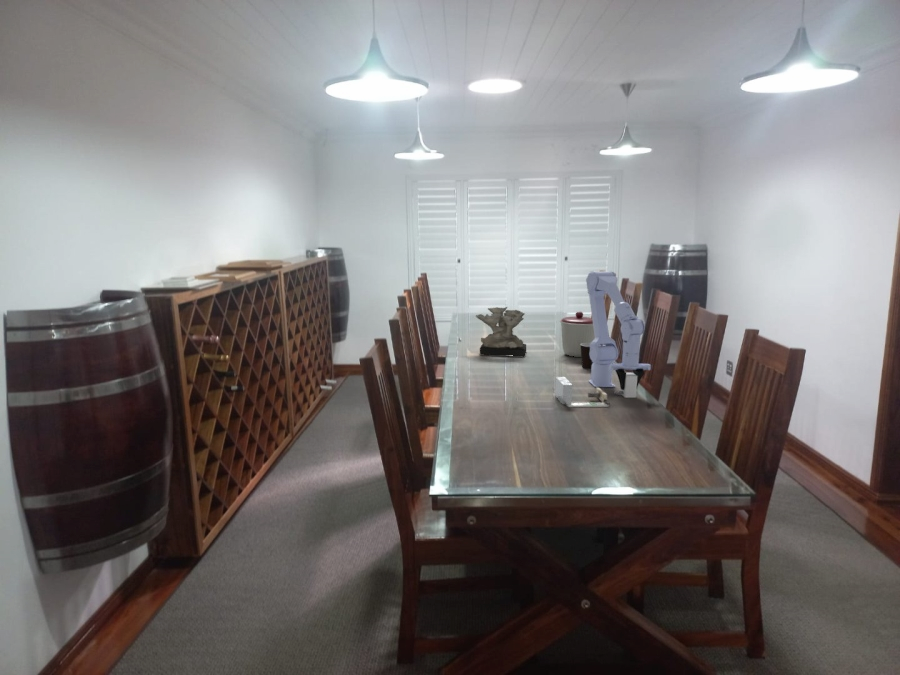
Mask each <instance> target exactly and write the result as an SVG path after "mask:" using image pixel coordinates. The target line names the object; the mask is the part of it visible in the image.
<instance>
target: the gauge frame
mask: <svg viewBox="0 0 900 675" xmlns="http://www.w3.org/2000/svg"><path fill="white" fill-rule="evenodd" d="M554 387H555V388H554V390H555V392H554V396H555V398H556V399H557V398H558V399H557V400H558V401H559V402H560V403H562V404H565V405H566V407H568V408H609V407H610V404H607V403H606V402H605V403H603V402H591V401H590V402H573V384H572V383H571V382H570V381H569V379H567V377H565V376H556V377H555V386H554ZM562 404H561V405H562Z"/></svg>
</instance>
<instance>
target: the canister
mask: <svg viewBox="0 0 900 675" xmlns="http://www.w3.org/2000/svg"><path fill="white" fill-rule="evenodd" d="M559 322H560V329H561V330H560V331H561V339H562V340H561V341H562V342H561V343H562V350H563V353H564V354H565V355H566V356H568V355H569V356H568V357H573V356H574V357H576V358H581V346H580V344H582V343H591V342H592V341H593V340H594V339H595V334H594V327H593V319H592V317H587V316H584V312H582V311H576V312H575V316H566V317H563V318H561V319H560V320H559Z"/></svg>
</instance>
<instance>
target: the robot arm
mask: <svg viewBox="0 0 900 675" xmlns="http://www.w3.org/2000/svg"><path fill="white" fill-rule="evenodd" d="M585 282H586V289H587V293H588V296H589V297H588V298H589V305H590V312H591V318H592V319H593V327H594V334H595V339H594V340H593V341H592V342H591V343H590V352H589V355H590V358H591V360H592V362H593V364H592V366H591V369H590V370H591V371H590V379H588V380H587V381H588V383H590V384H591V385H592V386H593V387H594V388H616V385H615V384H614V383H613V371H615V372H616V375H617V378H618V382H619V385H620V386H619V387H620V390H621V389H622V390H624V388H625V377H626V373H627V372H626V371H632V373H634V374H635V375H637V388H638V386H639V384H640V381H641V380H642V377H643V376H644V375H645V371H651V368H652V365H651V364H650V363H642V362H641V363H639V362H640V346H641V335H643V334H644V332H645V323H644V321H643V319H641V318H639V317H638V316H636V314H635V312H634V311H633V309H632V307H631V305H630V304H629V303H628V302H626V301H625V300H624V298H623V296H622V293H621V291H620V289H619V286H618V285H617V284H618V277H617V274H616V273H615V271H613V270H607V271H600V270H599V271H594V270H592V271H590V272H589V273H588V275H587V276H586V280H585ZM606 294H607V296H609V298H610V300H611V301H612V303H613V304H614V309H613V310H614V313H615V315H616V316H617V319H618V321H619V322H620V324H621V326H620V332H621V338H622V341H623V342H622V357H621V358H622V359H621V363H620V362H618V363H615V362H616V361H617V360H618V357H619V348H618V347H617V344H616V341H615V340H614V339H613V338H612V337H611V336H610V335H609V334H610V333H609V325H608V319H607V313H606V312H607V311H606V305H605V299H604V298H605V295H606ZM599 345H601V346H599Z"/></svg>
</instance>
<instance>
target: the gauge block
mask: <svg viewBox="0 0 900 675" xmlns="http://www.w3.org/2000/svg"><path fill="white" fill-rule="evenodd" d="M637 390H638V387H637V375H635V374H634V373H633V372H626V377H625V388H624V390H622V389H621V388H620V390H614V391H613V393H614V395H621V394H622V395H621V396H623V398H627V399H628V398H637Z"/></svg>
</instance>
